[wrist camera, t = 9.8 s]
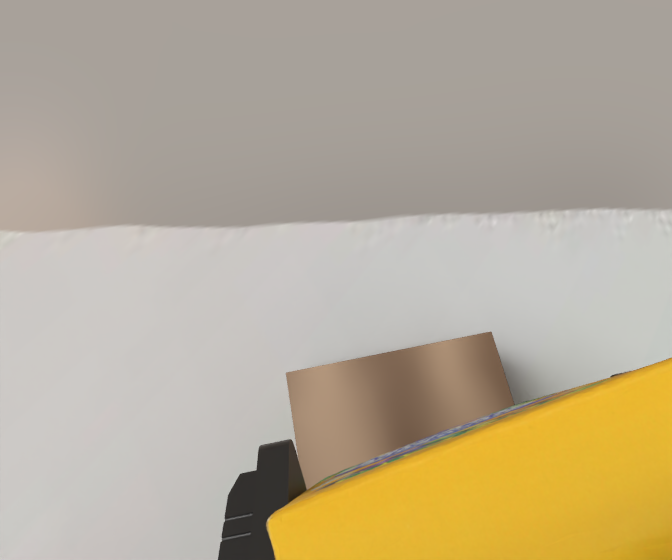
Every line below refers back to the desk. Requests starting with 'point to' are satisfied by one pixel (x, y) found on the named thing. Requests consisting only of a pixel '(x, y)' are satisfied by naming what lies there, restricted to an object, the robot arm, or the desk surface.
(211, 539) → the desk surface
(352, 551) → the crayon box
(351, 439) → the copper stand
